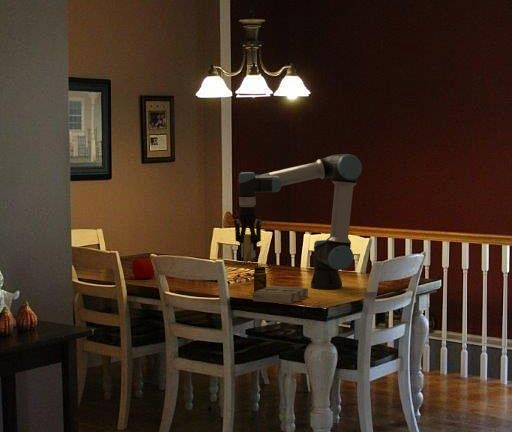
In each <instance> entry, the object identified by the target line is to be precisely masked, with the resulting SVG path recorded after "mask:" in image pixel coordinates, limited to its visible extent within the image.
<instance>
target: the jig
mask: <svg viewBox="0 0 512 432" xmlns="http://www.w3.org/2000/svg"><path fill="white" fill-rule="evenodd" d="M308 292H309V288H307V287H294V286H277V285H271V286H267V288H265V289H261V290H258V291H255V292H253V293H252V301H253V302H263V303H277V304H289V305H290V304H293V303H296V302H298V301H300V300H303V298H304V299H306V298H309V293H308ZM295 301H296V302H295Z"/></svg>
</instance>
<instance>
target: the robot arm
mask: <svg viewBox="0 0 512 432" xmlns="http://www.w3.org/2000/svg"><path fill="white" fill-rule="evenodd" d="M362 170H363V165H362V162H361V160H360V159H359V158H358V157H357V156H356V155H354V154H351V153H350V154H349V153H336V154H332V155H329V156H326V157H323V158H319V159H317V160H316V161H315V162H312V163H311V162H309V163H307V164H301V165H297V166H292V167H288V168H283V169H280V170H274V171H272V172H267V173H262V174H256V173H255V172H252V171H248V172H247V171H245V172H243V171H241V172H240V173H239V174H238V203H239V204H238V205H239V209H238V210H239V213H238V214H239V217H238V218H237V219H234V220H233V224H234V232H235V242H237V243H239V250H241V252H240V253H241V258H244V250H243V235H244V234H246V232H247V228H248V229H249V232H250V233H249V234H251V237H252V243H251V258H253V259H254V258H256V255H257V254H256V253H257V252H256V251H257V250H258V243H259V242H261V241H262V228H261V227H262V222H263V221H262V219H257V217H256V214H257V213H256V212H257V209H256V207H257V206H256V205H257V204H256V194H257V193H258V194H259V193H277V192H280V191H281V189H282V187H283V186H288V185H292V184H296V183H302V182H305V181H310V180H315V179H319V178H320V179H321V180H323V179H331V182H332V184H333V185H334V191H333V200H332V202H333V203H332V213H331V221H330V222H331V224H330V232H329V233H330V234H329V237H327V238H326V239H323V240H322V239H321V240H320V239H319V240H315V241H314V245H313V260H314V261H313V262H314V263H313V265H314V267H313V270H314V271H313V275H312V278H311V282H310V288H311V289H315V290H335V289H336V290H338V289H341V288H343V281H342V279H341V278H342V277H341V275H340V273H339V271H341V270H342V271H343V270H346V269H348V268H349V267H350V266H351V265H352V263H353V261H354V252H353V251H352V248H351V247H352V241H351V240H350V239H349V233H350V224H351V223H350V222H351V221H350V220H351V213H352V202H353V194H354V193H353V191H354V187H356V185H357V184H358V178H359V176H361V173H362ZM255 224H256V225H255Z"/></svg>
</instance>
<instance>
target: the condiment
mask: <svg viewBox="0 0 512 432" xmlns="http://www.w3.org/2000/svg"><path fill="white" fill-rule="evenodd" d="M267 284H268V283H267V272H266V267H265V266H255V267H254V272H253V290H250V291H254V292H255V291H258V290H261V289H265V288H268V286H267Z"/></svg>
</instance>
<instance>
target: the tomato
mask: <svg viewBox="0 0 512 432" xmlns="http://www.w3.org/2000/svg"><path fill="white" fill-rule="evenodd" d="M150 258H151V257H147V256H145V257H144V256H142V257H141V256H139V257H137V258H135V259H134V260H133V261H132V263H131V272H132V274H133V276H134V278H136V279H139V280H144V278H147V279H151V278H153V277H154V276H155V275H154V270H153V266H152V263H151V259H152V258H151V259H150Z"/></svg>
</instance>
